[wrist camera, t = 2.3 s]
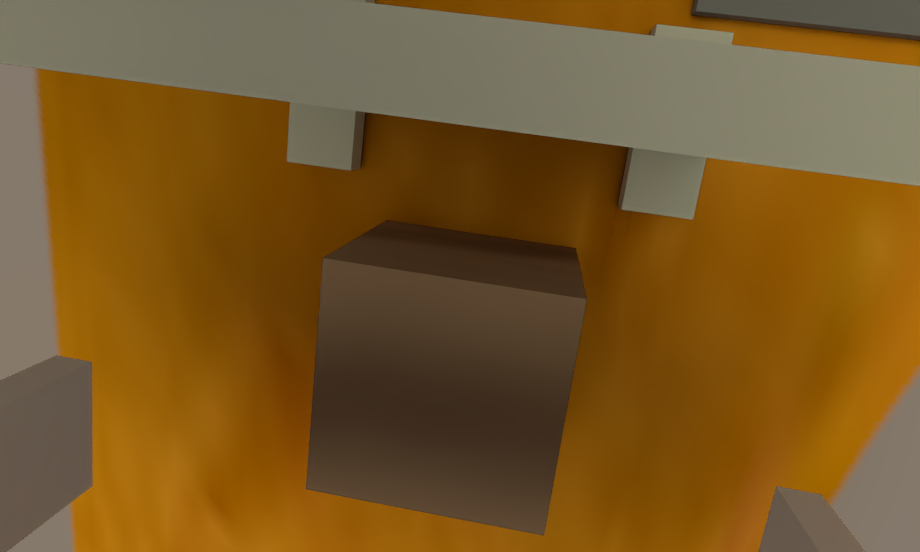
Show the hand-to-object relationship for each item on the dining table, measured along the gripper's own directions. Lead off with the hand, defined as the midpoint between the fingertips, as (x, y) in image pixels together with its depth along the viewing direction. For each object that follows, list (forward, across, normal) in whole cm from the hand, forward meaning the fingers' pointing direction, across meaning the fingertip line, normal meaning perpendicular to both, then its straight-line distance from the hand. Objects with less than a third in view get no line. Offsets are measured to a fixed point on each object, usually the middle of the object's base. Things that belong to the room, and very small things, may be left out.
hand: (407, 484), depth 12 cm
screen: (+9, 0, +8) cm, 12 cm away
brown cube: (+9, 0, 0) cm, 9 cm away
